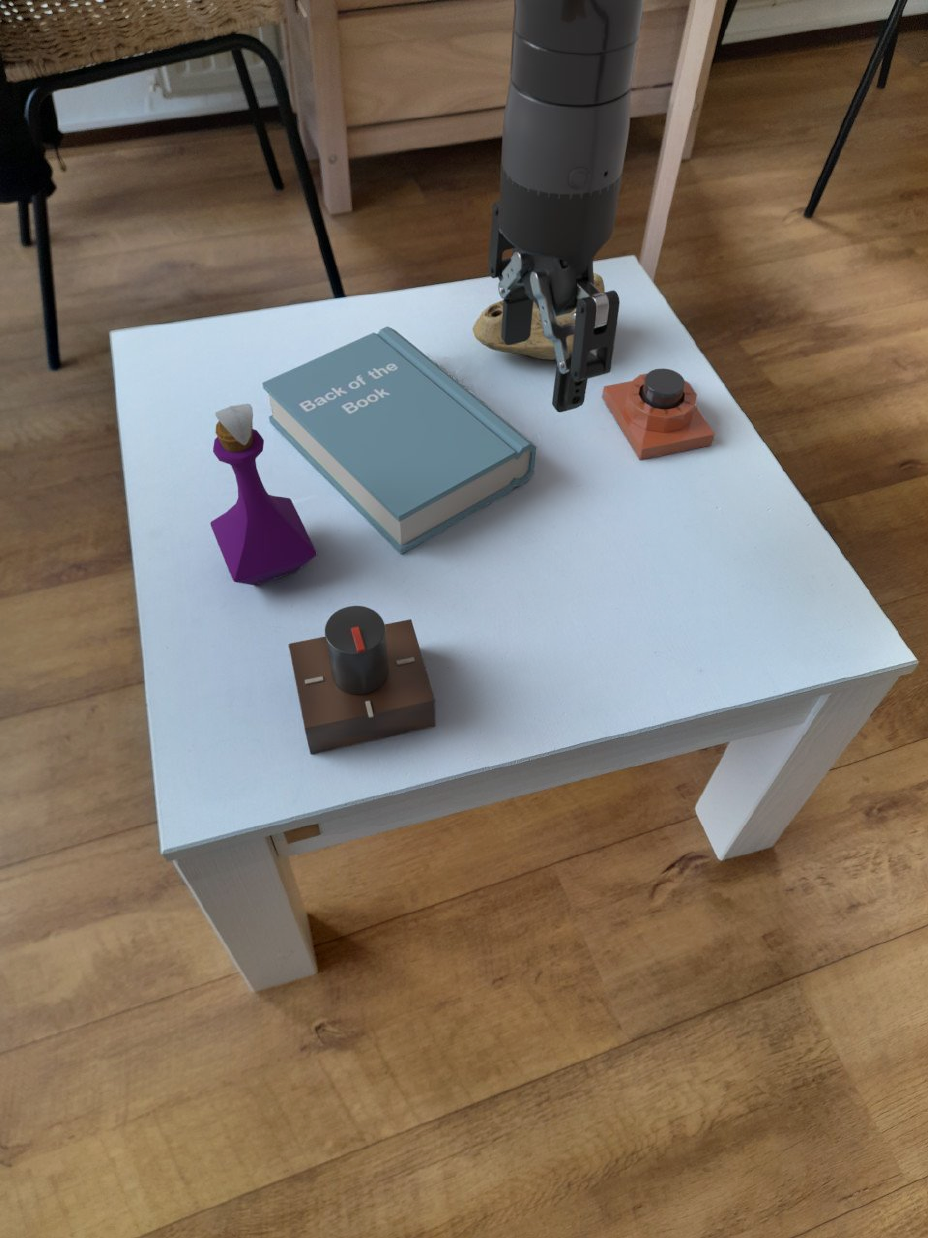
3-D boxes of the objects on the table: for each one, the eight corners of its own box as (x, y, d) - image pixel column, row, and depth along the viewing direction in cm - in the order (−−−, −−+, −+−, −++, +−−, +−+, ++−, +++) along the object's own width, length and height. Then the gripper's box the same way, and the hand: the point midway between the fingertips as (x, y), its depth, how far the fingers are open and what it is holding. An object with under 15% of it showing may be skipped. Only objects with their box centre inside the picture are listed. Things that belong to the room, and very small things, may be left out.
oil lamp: (456, 341, 103) (457, 277, 97) (566, 302, 108) (574, 239, 102) (509, 397, 98) (513, 333, 91) (622, 353, 103) (634, 289, 96)
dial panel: (411, 644, 78) (410, 614, 75) (436, 729, 73) (436, 702, 70) (294, 668, 77) (287, 639, 73) (311, 758, 72) (304, 731, 68)
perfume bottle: (216, 546, 85) (170, 389, 70) (294, 522, 87) (265, 364, 72) (240, 605, 81) (196, 451, 66) (321, 578, 83) (296, 423, 68)
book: (269, 422, 95) (262, 382, 91) (396, 362, 101) (394, 322, 97) (400, 554, 84) (398, 516, 80) (533, 478, 91) (537, 439, 87)
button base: (711, 445, 94) (720, 418, 91) (639, 460, 92) (645, 433, 90) (670, 384, 100) (676, 357, 97) (601, 397, 98) (606, 370, 95)
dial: (326, 655, 73) (318, 610, 68) (380, 642, 74) (376, 597, 69) (338, 700, 70) (331, 657, 66) (394, 687, 71) (391, 643, 66)
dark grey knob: (687, 406, 93) (692, 389, 91) (651, 413, 92) (654, 397, 90) (670, 381, 95) (674, 365, 94) (635, 388, 94) (638, 371, 93)
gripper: (676, 202, 54) (631, 418, 67) (562, 97, 62) (541, 309, 75) (562, 228, 52) (538, 445, 65) (459, 117, 60) (456, 331, 73)
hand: (540, 372), depth 70 cm, fingers open, 8 cm apart
